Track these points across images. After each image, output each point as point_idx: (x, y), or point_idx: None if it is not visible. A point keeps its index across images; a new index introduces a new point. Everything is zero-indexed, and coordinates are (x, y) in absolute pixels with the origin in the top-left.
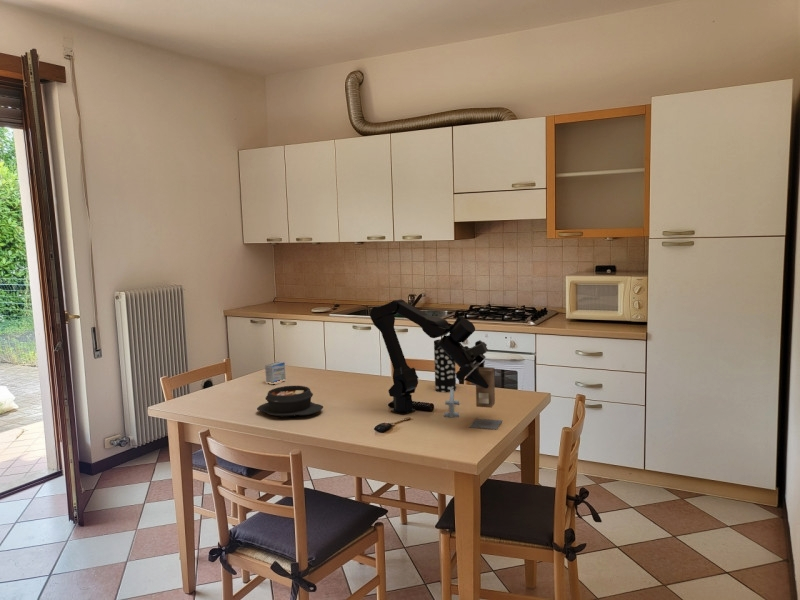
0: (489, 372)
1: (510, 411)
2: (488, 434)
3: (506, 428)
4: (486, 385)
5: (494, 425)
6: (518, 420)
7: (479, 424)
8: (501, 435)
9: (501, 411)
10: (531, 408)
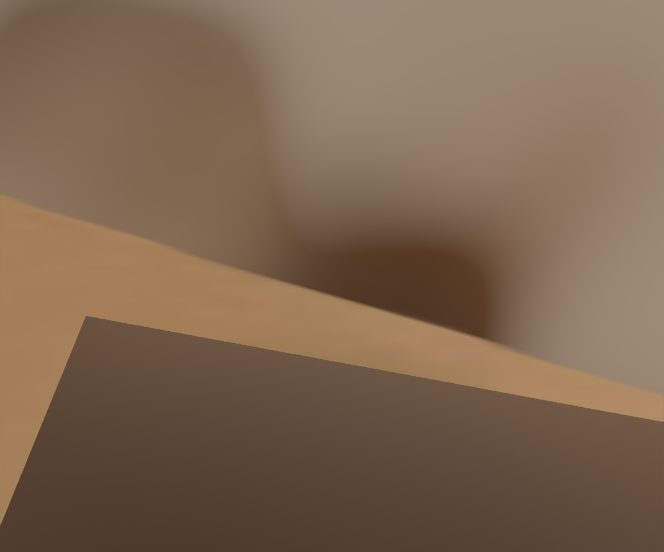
0: (648, 490)
1: (78, 324)
2: None
3: (422, 345)
4: None
5: None
6: (262, 277)
7: None
8: (566, 374)
9: None
10: (41, 209)
